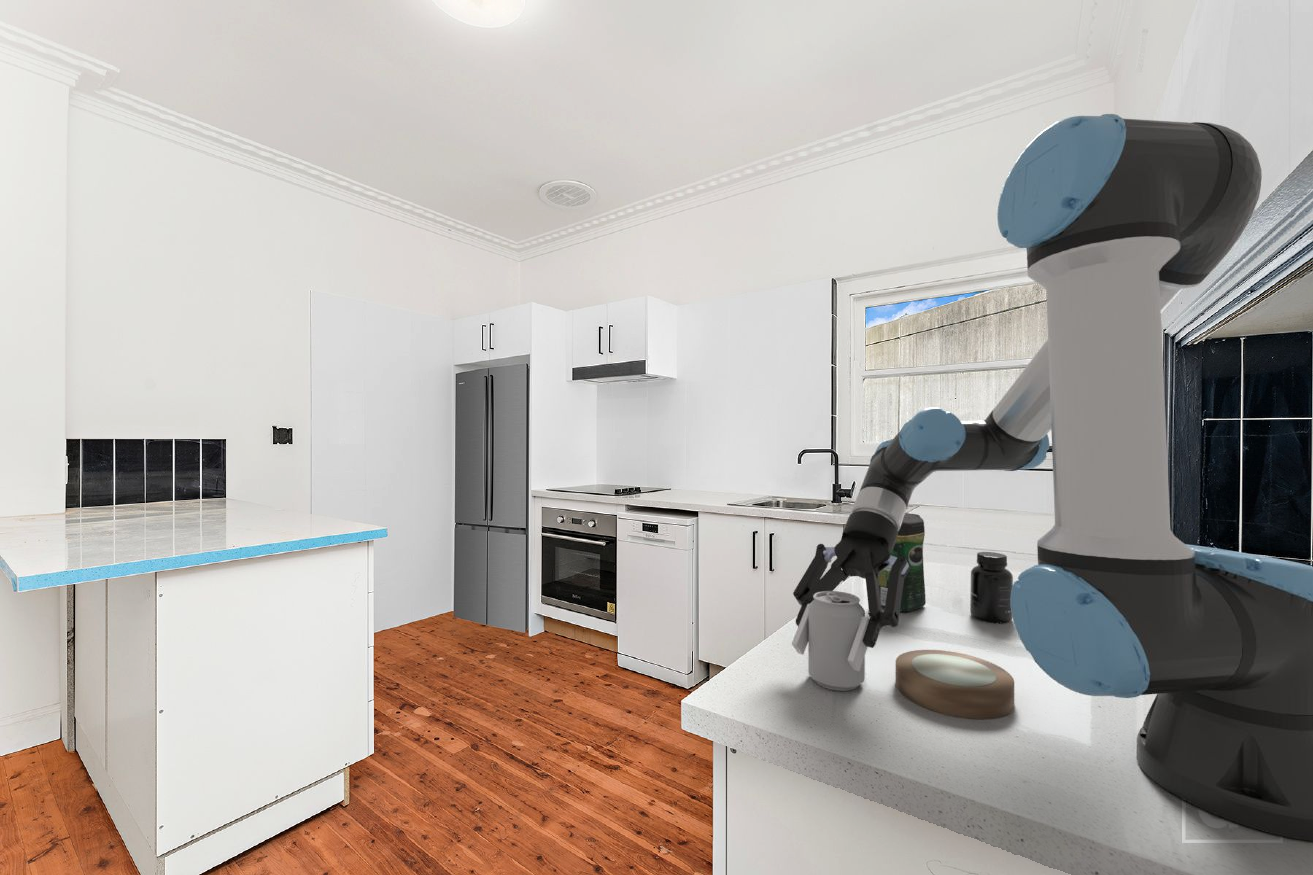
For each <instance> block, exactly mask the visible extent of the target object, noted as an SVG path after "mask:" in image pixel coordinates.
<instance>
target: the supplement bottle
mask: <svg viewBox="0 0 1313 875" xmlns="http://www.w3.org/2000/svg"><path fill="white" fill-rule="evenodd" d="M1007 561H1008V556H1007V555H1006V554H1003V553H999V552H994V551H979V552H977V554H976V564H977V565H976V566H974V567H972V569H971V570H970V596H969V598H970V599H969V601H970V602H969V604H970V605H969V606H970V608H969V610H970V615H971V616H972V617H973V618H974V619H975V620H977V621H978V620H979V621H980V622H984V621H985V623H989V624H996V623H998V624H999V625H1002V624H1003V625H1004V624H1009V623H1010V622H1013V617H1012V612H1011V604H1010V597H1011V590H1012V587H1013V584H1014V575H1013V574H1012V572H1011V571H1010V570H1009V569H1007V568H1006V567H1008V562H1007Z"/></svg>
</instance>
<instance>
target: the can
mask: <svg viewBox="0 0 1313 875" xmlns="http://www.w3.org/2000/svg"><path fill="white" fill-rule="evenodd" d="M813 598H814V600H813V601H812V602H811V603H810V604H809V605H808V644H807V646H808V653H807V655H808V665H807V666H808V675H809V676H810V678H812V680H813V681H814V682H815V683H816V684H817V685H819V686H820V687H822V688H825V689H829V690H832V691H833V690H834V691H839V692H846V691H847V692H849V691H852V690H855V689H857V688H858V687H859V685H861V684H863V683H864V681H865V679H866V678H865V676H866V674H865V673H866V672H865V671H866V669H865V664H866V658H865V657H866V656H864V659H863V662H862V665H861V668H860V671H859V672H858V671H855V670H853V668H852V667H851V665H850V663H849V662H848V657H849V654H850V651H851V648H852V645H853V642H854V640H855V637H856V634H857V631H858V628H859V625H860V622H861V619H862V617H863V616H864V617H866V614H865V613H866V612H865V609H864V607H863V606H862V605H861V604H860V601H861V599H860V598H859V597H858V596H857V595H855V594H853V593H849V592H845V591H839V590H833V591H822V592H818V593H815V594H814V595H813Z"/></svg>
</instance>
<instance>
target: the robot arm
mask: <svg viewBox="0 0 1313 875" xmlns="http://www.w3.org/2000/svg"><path fill="white" fill-rule="evenodd" d="M1262 174H1263V173H1262V167H1261V164H1260V160H1259V156H1258V153H1257V152H1256V150H1255V148H1254V146H1253V145H1252V144H1251V143H1250V142H1249V141H1248V140H1247V139H1246V138H1245V137H1244V136H1243V135H1242V134H1241V133H1239V132H1238V131H1236V130H1233V129H1231V128H1229V127H1227V126H1224V125H1220V124H1216V123H1212V122H1198V121H1196V122H1195V121H1194V122H1186V121H1183V122H1181V121H1169V120H1154V119H1136V118H1123V117H1121V116H1120V115H1118V114H1116V113H1103V114H1102V115H1075V116H1070V117H1067V118H1064V119H1062V120H1058V121H1056V122H1055V123H1053V124H1052V125H1050V126H1048V127H1047V128H1046V129H1044V130H1043V131H1041V132H1040V133H1039V134H1038V135H1037V136H1036V137H1035V138H1034V139H1032V141H1031V142H1030V143H1029V144H1028V145H1027V146H1026V147H1025V149H1024V150H1023V151H1022V152H1021V154H1020V155H1019V157H1018V158H1017V159H1016V160H1015V163H1014V165H1013V167H1012V168H1011V170H1010V171H1009V173H1008V175H1007V177H1006V179H1005V181H1004V184H1003V187H1002V190H1001V193H1000V196H999V198H998V199H999V201H998V204H997V206H998V207H997V214H996V215H997V225H998V226H997V227H998V230H999V233H1000V234H1001V236H1002V237H1003V238H1005V239H1006V242H1007V243H1009V244H1011V245H1013V246H1014V247H1017V249H1018V248H1019V249H1026V260H1027V262H1026V265H1027V266H1026V267H1027V275H1028V278H1029V279H1031V280H1032V281H1033V282H1036V283H1037V284H1039V285H1040V286H1042V287H1043V288H1044V290H1046V318H1047V339H1046V341H1045V342H1044V343H1043V344H1042V345H1041V347H1040V348H1039V350H1037V352H1036V353H1035V354H1034V356H1033V357H1032V359H1031V360H1030V362H1028V364H1027V365H1026V366H1025V368H1024V369H1023V371H1022V372H1021V373H1020V374H1019V375H1018V377H1017V378H1016V379H1015V380H1014V382H1013V383H1012V385H1011V386H1010V388H1009V389H1008V390H1007V391H1006V393H1005V394H1004V395H1003V397H1001V399H1000V400H999V402H998V403H997V404H996V406H994V408H993V409H992V410H991V411H990V413H989V414H988V415H987V417H986V418H985V419H983V420H966V421H965V420H961V419H959V418H958V417H957V415H955V414H954V413H952V412H950V411H945V410H943V409H942V408H941V407H926V408H924V409H922V410H919V411H918V412H917V413H916V414H915V415H914V416H913V417H912V418H910V419H909V420H908V421H907V422H905V423H904V424H903V426H902V427H901V429H900V430H899V432H898V433H897V434H896V435H895V436H894V437H893V438H891V439H889V440H884V441H882V442H880V444H878V446H877V448H876V450H875V451H874V454H873V455H872V456H871V458H870V460H869V461H870V462H869V465H868V468H867V471H866V473H865V476H864V479H863V481H862V483H861V486H860V489H859V491H858V493H857V495H856V498H855V501H854V503H853V505H852V508H851V510H850V514H849V516H848V518H847V521H846V523H845V525H844V529H842V530H843V531H842V535H841V538H840V540H839V542H838V543H837V544H835V546H829V547H828V546H827V547H826V546H825V545H824V544H823V543H819V544H817V546H816V550H815V555H814V556H813V559H812V560H811V562H810V564H809V566H808V568H806V571H805V572H804V574H803V575H802V578H800V580H799V582H798V584H797V586H796V587H795V588H794V590H793V592H792V595H793V597H794V598H795V600H796V601H797V603H798V604H799V605H800V608H799V611H798V614H797V616H796V618H795V625H796V627H797V629H796V632H795V635H794V636H793V638H792V641H791V645H792V647H793V648H794V649H795V650H796V652H797V654H800V655H802V656H803V655H804V654H805V651H806V649H807V646H808V605H809V604H810V603H811V602H812V601H813V600H814V598H813V595H814V594H815V593H818V592H822V591H835V589H836V588H837V587H838V586H839V585H840V583H842V582H844V581H846V580H847V579H848V578H849V577H859V578H861V579H865V585H866V596H867V606H868V611H867V614H868V616H869V617H867V616H865V617H864V616H863V617H862V619H861V622H860V625H859V628H858V631H857V634H856V637H855V640H854V642H853V645H852V648H851V651H850V654H849V657H848V662H849V663H850V665H851V667H852V668H853V670H855V671H858V672H859V671H860V668H861V665H862V662H863V659H864V656H865V655H866V652H867V651H868V650H867V649H868V648H871V649H873V648H874V647H875V646H876V645H877V640H878V638H879V635H880V631H881V629H882V628H883V627H885V626H886V627H887V626H889V627H892V628H896V627H897V626H898V625H899V620H900V614H901V613H900V612H901V611H900V607H901V599H902V592H903V585H904V579H905V577H906V576H907V574H908V572H909V571H910V567H909V565H908V563H907V560H906V558H905V557H904V556H899V557H898V558H897V557H894V556H891V552H892V551H893V548H894V545H895V542H896V539H897V536H898V531H899V530H900V527H901V524H902V521H903V518H904V515H905V513H907V509H908V505H909V502H910V500H911V497H912V494H913V492H914V490H915V488H916V487H918V486H919V485H920V484H921V483H922V482H924V481H925V480H926V479H927V478H928V477H930V476H931V475H932V474H933V473H935V472H948V471H949V472H950V471H951V472H952V471H953V472H954V471H955V472H957V471H959V472H960V471H996V472H997V471H999V472H1000V471H1001V472H1002V471H1004V472H1017V471H1020V470H1030V469H1035V468H1037V467H1039V466H1040V465H1041V464H1042V463H1043V462H1045V460H1046V459H1047V452H1048V450H1050V438H1049V435H1048V433H1049V432H1051V454H1052V480H1053V504H1054V506H1053V507H1054V525H1053V526H1052V528H1051V529H1050V530H1049V531H1047V532H1046V533H1045V534H1044V535H1042V536H1041V537H1040V538H1038V539H1037V541H1036V545H1037V547H1036V548H1037V549H1036V550H1037V564H1034V565H1033V566H1031V567H1029V568H1027V569H1025V570H1023V571H1022V572H1021V573H1020V574H1019V575H1018V577H1017V580H1016V581H1013V587H1012V590H1011V597H1010V604H1011V612H1012V622H1013V623H1014V624H1013V625H1014V628H1015V631H1016V633H1017V635H1018V637H1019V639H1020V641H1021V643H1022V645H1023V646H1024V648H1025V650H1026V651H1027V652H1028V653H1029V654H1030V655H1031V657H1032V658H1033V661H1034V663H1036V665H1037V666H1038V667H1039V668H1040V669H1041V670H1042V671H1043V672H1044V673H1045V674H1046V675H1048V677H1049V678H1051V679H1052V680H1053V681H1055V682H1056V683H1057V684H1059V685H1061V686H1063V687H1064V688H1066V689H1068V690H1070V691H1073V692H1075V693H1078V694H1082V695H1085V696H1091V697H1115V698H1119V699H1120V698H1122V699H1133V698H1138V697H1139V696H1145V695H1146V696H1147V695H1155V698H1154V699H1153V701H1152V704H1151V705H1150V707H1149V710H1148V712H1147V714H1146V717H1145V719H1144V721H1143V725H1142V727H1141V728H1140V729H1139V730H1138V732H1137V736H1136V757H1135V758H1136V762H1137V763H1138V766H1139V767H1140V769H1141V770H1142V771H1143V772H1144V773H1145V774H1146V775H1147V776H1148V777H1149V778H1150V779H1151V780H1152V781H1153V782H1155V783H1157V784H1158V785H1159V786H1160V787H1162V788H1163V789H1165V790H1166V791H1168V792H1170V793H1171V794H1173V795H1174V796H1177V797H1178V798H1180V799H1181V800H1183V799H1184V801H1185V800H1186V802H1187V801H1189V802H1191V803H1192V804H1191V803H1190V804H1191V805H1193V806H1195V807H1198V808H1200V809H1202V810H1204V811H1206V812H1209V813H1211V814H1213V815H1215V816H1218V817H1220V818H1223V819H1226V820H1229V821H1231V822H1234V823H1237V824H1239V825H1243V826H1245V827H1249V828H1253V829H1256V830H1258V831H1259V830H1260V831H1262V832H1266V833H1270V834H1274V835H1279V836H1281V837H1286V838H1292V839H1297V840H1305V841H1312V842H1313V566H1312V565H1308V564H1305V563H1301V562H1296V561H1291V560H1285V559H1280V558H1276V557H1270V556H1264V555H1258V554H1253V553H1247V552H1241V551H1236V550H1235V551H1233V550H1230V549H1229V550H1228V549H1222V548H1217V547H1210V546H1201V545H1195V544H1186V543H1184V542H1183V541H1181V540H1180V539H1179V538H1178V537H1177V536H1175V534H1174V533H1173V532H1172V530H1171V512H1170V510H1171V509H1170V508H1171V507H1170V491H1169V490H1170V488H1169V468H1168V463H1169V462H1168V448H1167V447H1168V446H1167V424H1166V423H1167V422H1166V421H1167V419H1166V404H1165V403H1166V400H1165V397H1166V396H1165V378H1164V356H1163V355H1164V354H1163V353H1164V352H1163V335H1162V334H1163V333H1162V313H1161V312H1162V309H1164V307H1165V306H1166V305H1168V303H1170V301H1171V300H1172V299H1173V298H1174V296H1176V294H1177V293H1179V292H1180V291H1181V290H1184V289H1187V288H1188V289H1189V288H1194V287H1195V288H1196V287H1197V286H1199V285H1200V284H1201V283H1202V282H1203V281H1204V280H1205V279H1206V278H1207V277H1208V276H1209V275H1210V274H1211V273H1212V271H1213V270H1214V269H1215V268H1216V267H1217V266H1219V264H1220V263H1221V262H1222V260H1223V259H1224V258H1225V257H1226V256H1227V255H1228V253H1229V252H1230V251H1231V250H1232V249H1233V247H1234V246H1235V244H1236V243H1237V242H1238V241H1239V239H1240V238H1241V236H1242V234H1243V232H1244V230H1245V228H1246V227H1247V225H1248V224H1249V222H1250V220H1251V218H1252V216H1253V214H1254V211H1255V208H1256V206H1257V204H1258V201H1259V199H1260V193H1261V188H1262V177H1263V175H1262ZM835 556H836V558H835V560H834V561H833V562H832V559H833V558H834V557H835ZM829 563H831V565H830V568H829V569H828V570H827V571H826V569H827V568H828V565H829ZM888 565H890V569H891V571H890V577H889V584H888V590H887V597H886V603H885V609H884V611H883V608H882V607H881V599H880V591H879V577H878V573H879V572H880V571H881V570H883V569H884V568H886V567H887V566H888ZM865 657H866V656H865ZM1189 802H1188V803H1189Z"/></svg>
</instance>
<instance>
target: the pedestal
mask: <svg viewBox="0 0 1313 875" xmlns="http://www.w3.org/2000/svg"><path fill="white" fill-rule="evenodd" d="M1014 679H1015V678H1014V677H1013V676H1012V675H1011V674H1010V673H1009V671H1007V670H1006V669H1004V668H1002V667H1001V666H999V665H997V664H995V663H993V662H990V661H988V660H985V659H983V658H980V657H977V656H973V655H969V654H966V653H961V652H955V651H951V650H948V651H947V650H942V649H941V650H939V649H917V650H915V649H914V650H910V651H906V652H903V653H901V654H899V655H898V656H897V657H896V659H895V679H894V680H895V682H894V683H895V687H896V689H897V691H898V692H899V693H900V694H901V695H902V696H903V697H905V699H908V700H909V701H910V702H912V703H914V704H917V705H919V706H921V707H922V708H925V709H928V710H930V711H933V712H937V713H940V714H943V715H947V716H952V717H957V718H963V719H964V718H965V719H972V720H973V719H974V720H988V719H987V718H992V719H998V718H1002V716H1003V717H1006V716H1008V715H1010V714H1011V713H1012V712H1013V711H1014V709H1015V680H1014ZM1010 712H1011V713H1010ZM1005 715H1006V716H1005ZM977 718H978V719H977ZM985 718H986V719H985Z"/></svg>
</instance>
